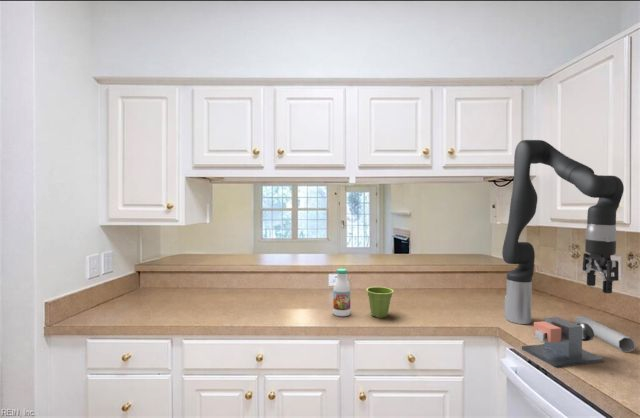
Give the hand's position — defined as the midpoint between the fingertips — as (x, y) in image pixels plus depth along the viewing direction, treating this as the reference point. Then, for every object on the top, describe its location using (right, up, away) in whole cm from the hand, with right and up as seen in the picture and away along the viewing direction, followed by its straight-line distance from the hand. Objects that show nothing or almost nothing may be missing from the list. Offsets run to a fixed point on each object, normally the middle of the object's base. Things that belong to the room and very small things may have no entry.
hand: (598, 289), depth 109 cm
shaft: (-10, -18, +3) cm, 21 cm away
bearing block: (-10, -22, +3) cm, 24 cm away
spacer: (-15, -14, +1) cm, 21 cm away
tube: (+15, -23, +18) cm, 33 cm away
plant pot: (-62, -22, +42) cm, 78 cm away
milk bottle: (-79, -22, +44) cm, 93 cm away
